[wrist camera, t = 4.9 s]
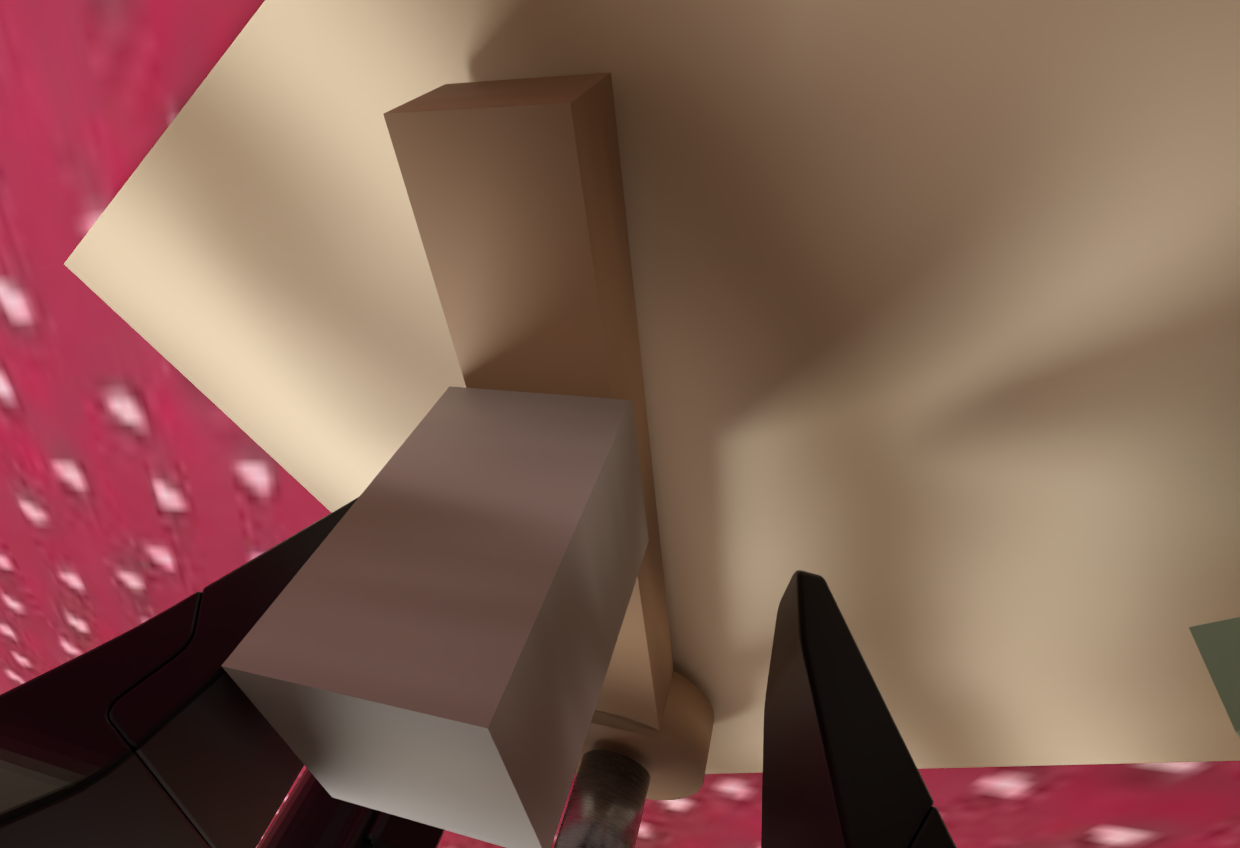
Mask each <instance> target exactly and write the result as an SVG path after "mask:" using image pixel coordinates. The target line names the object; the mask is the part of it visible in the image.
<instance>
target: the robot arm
mask: <svg viewBox="0 0 1240 848" xmlns="http://www.w3.org/2000/svg"><path fill="white" fill-rule="evenodd" d="M359 497H360V496H359ZM359 497H358V498H359ZM358 498H356V499H354V500H353V501H351V502H349V503H348V504H346V505H344V506H342V507H341V508H339V509H337V510H336V511H334V512H332V513H331V514H329V515H327V516H325V517H324V518H322V519H320V520H319V521H317V522H315V523H314V524H312V525H310V526H308V527H307V528H305V529H303V530H302V531H300V532H298V533H297V534H295V535H293V536H291V537H290V538H288V539H286V540H285V541H283V542H281V543H280V544H278V545H276V546H275V547H273V548H271V549H269V550H268V551H266V552H264V553H263V554H261V555H259V556H258V557H256V558H254V559H252V560H251V561H249V562H247V563H246V564H244V565H242V566H241V567H239V568H237V569H235V570H234V571H232V572H230V573H229V574H227V575H225V576H224V577H222V578H220V579H219V580H217V581H215V582H213V583H212V584H210V585H208V586H207V587H205V588H204V589H203V592H200V591H198V592H196V593H194V594H193V595H191V596H189V597H188V598H186V599H184V600H183V601H181V602H179V603H177V604H176V605H174V606H172V607H170V608H169V609H167V610H165V611H163V612H162V613H160V614H158V615H156V616H155V617H153V618H151V619H149V620H147V621H146V622H144V623H142V624H140V625H139V626H137V627H135V628H133V629H131V630H129V631H127V632H125V633H123V634H121V635H120V636H118V637H116V638H114V639H112V640H110V641H108V642H106V643H104V644H102V645H100V646H98V647H96V648H94V649H92V650H90V651H88V652H86V653H84V654H82V655H80V656H78V657H76V658H74V659H72V660H70V661H68V662H66V663H64V664H62V665H60V666H58V667H56V668H54V669H52V670H50V671H48V672H46V673H44V674H42V675H40V676H38V677H36V678H34V679H32V680H30V681H28V682H26V683H24V684H22V685H20V686H18V687H16V688H14V689H11V690H9V691H7V692H5V693H3V694H1V695H0V848H256V846H257V845H258V843H259V841H260V839H261V838H262V836H263V834H264V833H265V831H266V829H267V827H268V826H269V824H270V822H271V821H272V819H273V817H274V816H275V814H276V812H277V810H278V809H279V807H280V805H281V804H282V802H283V800H284V798H285V797H286V795H287V793H288V792H289V790H290V788H291V786H292V785H293V783H294V781H295V780H296V778H297V776H298V775H299V773H300V771H301V769H302V768H303V766H304V764H303V762H302V761H301V760H300V759H299V758H298V756H297V755H296V754H295V753H294V752H293V750H292V749H291V748H290V747H289V746H288V745H287V743H286V742H285V741H284V740H283V739H282V737H281V736H280V735H279V734H278V733H277V731H276V730H275V729H274V728H273V727H272V726H271V724H270V723H269V722H268V721H267V720H266V718H265V717H264V716H263V715H262V714H261V712H260V711H259V710H258V709H257V708H256V707H255V705H254V704H253V703H252V702H251V701H250V699H249V698H248V697H247V696H246V695H245V693H244V692H243V691H242V690H241V689H240V688H239V686H238V685H237V684H236V683H235V682H234V680H233V679H232V678H231V677H230V676H229V674H228V673H227V672H226V671H225V670H224V669H223V667H222V664H223V663H224V662H225V661H226V660H227V658H228V657H229V656H230V655H231V653H232V652H233V651H234V650H235V649H236V647H237V646H238V645H239V644H240V642H241V641H242V640H243V639H244V637H245V636H246V635H247V634H248V633H249V631H250V630H251V629H252V628H253V626H254V625H255V624H256V623H257V622H258V620H259V619H260V618H261V617H262V615H263V614H264V613H265V612H266V611H267V609H268V608H269V607H270V606H271V604H272V603H273V602H274V601H275V600H276V598H277V597H278V596H279V595H280V593H281V592H282V591H283V590H284V589H285V587H286V586H287V585H288V584H289V582H290V581H291V580H292V579H293V577H294V576H295V575H296V574H297V573H298V571H299V570H300V569H301V568H302V566H303V565H304V564H305V563H306V562H307V560H308V559H309V558H310V557H311V555H312V554H313V553H314V552H315V551H316V549H317V548H318V547H319V546H320V544H321V543H322V542H323V541H324V540H325V538H326V537H327V536H328V535H329V533H330V532H331V531H332V530H333V529H334V527H335V526H336V525H337V524H338V522H339V521H340V520H341V519H342V517H343V516H344V515H345V514H346V513H347V511H348V510H349V509H350V508H351V506H352V505H353V504H354V503H355V502H356V500H357V499H358ZM932 805H933V800H932V797H931V795H930V793H929V791H928V789H927V787H926V785H925V783H924V781H923V779H922V777H921V775H920V773H919V771H918V769H917V767H916V765H915V763H914V761H913V759H912V757H911V754H910V752H909V750H908V748H907V746H906V744H905V742H904V740H903V738H902V736H901V734H900V732H899V730H898V728H897V726H896V724H895V722H894V720H893V718H892V716H891V714H890V711H889V709H888V707H887V705H886V703H885V701H884V699H883V697H882V695H881V693H880V691H879V689H878V687H877V685H876V683H875V681H874V679H873V677H872V675H871V673H870V671H869V669H868V666H867V664H866V662H865V660H864V658H863V656H862V654H861V652H860V650H859V648H858V646H857V644H856V642H855V640H854V638H853V636H852V634H851V632H850V630H849V628H848V626H847V623H846V621H845V619H844V617H843V615H842V613H841V611H840V609H839V607H838V605H837V603H836V601H835V599H834V597H833V595H832V593H831V591H830V589H829V587H828V585H827V583H826V581H825V579H824V578H823V577H822V576H820V575H817V574H814V573H810V572H806V571H802V570H797V571H796V572H795V573H794V574H793V576H792V578H791V580H790V582H789V584H788V586H787V588H786V590H785V592H784V594H783V596H782V598H781V601H780V604H779V607H778V611H777V617H776V624H775V631H774V639H773V646H772V653H771V660H770V667H769V674H768V682H767V689H766V697H765V706H764V730H763V786H762V842H761V848H956V846H955V844H954V842H953V840H952V838H951V836H950V834H949V832H948V830H947V828H946V826H945V824H944V822H943V820H942V818H941V815H940V813H939V811H938V809H937V808H936V807H932ZM444 831H445V830H444V829H440V828H437V827H433V826H430V825H426V824H423V823H420V822H416V821H413V820H409V819H406V818H402V817H399V816H395V815H392V814H388V813H385V812H381V811H378V810H374V809H371V808H367V807H364V806H361V805H357V804H354V803H350V802H347V801H343V800H340V799H336V798H333V797H331V796H330V794H329V793H328V792H327V791H326V790H325V788H324V787H323V786H322V785H321V784H320V782H319V781H318V780H317V779H316V778H315V777H314V775H313V774H312V773H311V772H310V771H309V769H308V768H306V770H305V771H304V773H303V775H302V776H301V778H300V779H299V781H298V783H297V784H296V786H295V787H294V789H293V791H292V792H291V794H290V795H289V797H288V799H287V800H286V802H285V803H284V805H283V807H282V808H281V810H280V811H279V813H278V815H277V816H276V818H275V819H274V821H273V823H272V824H271V826H270V827H269V829H268V830H267V832H266V834H265V835H264V837H263V838H262V840H261V842H260V843H259V845H258V846H257V848H437V847H438V844H439V842H440V840H441V838H442V835H443V833H444Z"/></svg>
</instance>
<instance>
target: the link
mask: <svg viewBox="0 0 1240 848" xmlns="http://www.w3.org/2000/svg"><path fill="white" fill-rule="evenodd" d="M383 115H384V118H385V121H386V125H387V128H388V131H389V135H390V138H391V141H392V144H393V148H394V151H395V154H396V158H397V161H398V164H399V167H400V171H401V174H402V177H403V181H404V184H405V187H406V190H407V194H408V197H409V200H410V204H411V207H412V210H413V213H414V217H415V220H416V223H417V227H418V230H419V233H420V237H421V240H422V243H423V246H424V250H425V253H426V256H427V260H428V263H429V266H430V269H431V273H432V276H433V279H434V283H435V286H436V289H437V292H438V296H439V299H440V302H441V306H442V309H443V312H444V315H445V319H446V322H447V325H448V329H449V332H450V335H451V338H452V342H453V345H454V348H455V352H456V355H457V358H458V362H459V365H460V368H461V371H462V375H463V378H464V381H465V385H466V388H464V387H451V386H449V388H448V389H447V390H446V391H445V393H444V394H443V395H442V396H441V397H440V399H439V400H438V401H437V402H436V404H435V405H434V406H433V407H432V409H431V410H430V411H429V412H428V413H427V415H426V416H425V417H424V418H423V420H422V421H421V422H420V423H419V424H418V426H417V427H416V428H415V429H414V431H413V432H412V433H411V434H410V435H409V437H408V438H407V439H406V440H405V442H404V443H403V444H402V445H401V446H400V448H399V449H398V450H397V451H396V453H395V454H394V455H393V456H392V457H391V459H390V460H389V461H388V462H387V464H386V465H385V466H384V467H383V469H382V470H381V471H380V472H379V473H378V475H377V476H376V477H375V478H374V480H373V481H372V482H371V483H370V484H369V486H368V487H367V488H366V489H365V491H364V492H363V493H362V494H361V495H360V497H359V498H358V499H357V500H356V502H355V503H354V504H353V505H352V506H351V508H350V509H349V510H348V511H347V513H346V514H345V515H344V516H343V517H342V519H341V520H340V521H339V522H338V524H337V525H336V526H335V527H334V529H333V530H332V531H331V532H330V533H329V535H328V536H327V537H326V538H325V540H324V541H323V542H322V543H321V544H320V546H319V547H318V548H317V549H316V551H315V552H314V553H313V554H312V555H311V557H310V558H309V559H308V560H307V562H306V563H305V564H304V565H303V566H302V568H301V569H300V570H299V571H298V573H297V574H296V575H295V576H294V577H293V579H292V580H291V581H290V582H289V584H288V585H287V586H286V587H285V589H284V590H283V591H282V592H281V593H280V595H279V596H278V597H277V598H276V600H275V601H274V602H273V603H272V604H271V606H270V607H269V608H268V609H267V611H266V612H265V613H264V614H263V615H262V617H261V618H260V619H259V620H258V622H257V623H256V624H255V625H254V626H253V628H252V629H251V630H250V631H249V633H248V634H247V635H246V636H245V637H244V639H243V640H242V641H241V642H240V644H239V645H238V646H237V647H236V649H235V650H234V651H233V652H232V653H231V655H230V656H229V657H228V658H227V660H226V661H225V662H224V663H223V664H222V667H223V669H224V670H225V671H226V672H227V673H228V674H229V676H230V677H231V678H232V679H233V680H234V682H235V683H236V684H237V685H238V686H239V688H240V689H241V690H242V691H243V692H244V693H245V695H246V696H247V697H248V698H249V699H250V701H251V702H252V703H253V704H254V705H255V707H256V708H257V709H258V710H259V711H260V712H261V714H262V715H263V716H264V717H265V718H266V720H267V721H268V722H269V723H270V724H271V726H272V727H273V728H274V729H275V730H276V731H277V733H278V734H279V735H280V736H281V737H282V739H283V740H284V741H285V742H286V743H287V745H288V746H289V747H290V748H291V749H292V750H293V752H294V753H295V754H296V755H297V756H298V758H299V759H300V760H301V761H302V762H303V764H304V765H305V766H306V767H307V768H308V769H309V771H310V772H311V773H312V774H313V775H314V777H315V778H316V779H317V780H318V781H319V782H320V784H321V785H322V786H323V787H324V788H325V790H326V791H327V792H328V793H329V794H330V796H331V797H333V798H336V799H340V800H343V801H347V802H350V803H354V804H357V805H361V806H364V807H367V808H371V809H374V810H378V811H381V812H385V813H388V814H392V815H395V816H399V817H402V818H406V819H409V820H413V821H416V822H420V823H423V824H426V825H430V826H433V827H437V828H440V829H444V830H447V831H451V832H454V833H458V834H461V835H465V836H468V837H472V838H475V839H479V840H482V841H485V842H489V843H492V844H496V845H499V846H503V847H506V848H551V846H552V843H553V839H554V836H555V833H556V830H557V827H558V824H559V821H560V817H561V814H562V811H563V808H564V805H565V802H566V799H567V795H568V792H569V789H570V786H571V783H572V780H573V777H574V774H577V773H578V770H579V767H580V764H581V760H582V757H583V755H584V754H585V753H586V752H588V751H592V750H606V751H611V752H615V753H619V754H622V755H624V756H627V757H629V758H631V759H633V760H635V761H636V762H638V763H639V764H641V765H642V766H643V767H644V768H645V769H646V770H647V771H648V772H649V774H650V783H649V788H648V792H647V796H646V799H654V800H675V799H681V798H685V797H688V796H690V795H693V794H694V793H696V792H697V791H699V789H700V788H701V787H702V785H703V782H704V776H705V771H706V765H707V759H708V753H709V747H710V741H711V736H712V730H713V724H714V711H713V708H712V706H711V704H710V702H709V700H708V699H707V697H706V696H705V695H704V694H703V692H702V691H701V690H700V689H699V688H698V687H697V686H695V685H694V684H693V683H692V682H690V681H689V680H688V679H686V678H685V677H683V676H682V675H680V674H679V673H677V672H675V671H674V670H673V660H672V651H671V641H670V632H669V622H668V612H667V603H666V593H665V584H664V574H663V565H662V555H661V546H660V536H659V526H658V517H657V507H656V498H655V488H654V479H653V469H652V459H651V450H650V440H649V431H648V421H647V412H646V402H645V393H644V383H643V373H642V364H641V354H640V345H639V335H638V326H637V316H636V307H635V297H634V287H633V278H632V268H631V259H630V249H629V240H628V230H627V221H626V211H625V201H624V192H623V182H622V173H621V163H620V154H619V144H618V135H617V125H616V115H615V106H614V96H613V87H612V77H611V72H610V73H596V74H582V75H567V76H553V77H539V78H525V79H510V80H496V81H482V82H467V83H453V84H445V85H442V86H440V87H438V88H436V89H434V90H432V91H430V92H428V93H426V94H424V95H421V96H419V97H417V98H415V99H413V100H411V101H409V102H407V103H405V104H403V105H401V106H398V107H396V108H394V109H392V110H390V111H388V112H386V113H384V114H383Z"/></svg>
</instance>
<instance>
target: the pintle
mask: <svg viewBox="0 0 1240 848" xmlns="http://www.w3.org/2000/svg"><path fill="white" fill-rule="evenodd" d="M649 783H650V774H649V772H648V771H647V770H646V769H645V768H644V767H643V766H642V765H641V764H639V763H638V762H636V761H635V760H633V759H631V758H629V757H627V756H624V755H622V754H619V753H615V752H611V751H606V750H592V751H588V752H586V753H585V754H584V755H583V757H582V760H581V764H580V767H579V770H578V773H577V776H576V780H575V783H574V786H573V789H572V792H571V795H570V799H569V802H568V805H567V808H566V811H565V814H564V818H563V821H562V824H561V827H560V830H559V833H558V837H557V840H556V843H555V846H554V848H635V844H636V840H637V835H638V831H639V827H640V822H641V818H642V814H643V809H644V805H645V801H646V796H647V792H648V788H649Z"/></svg>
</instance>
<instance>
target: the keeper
mask: <svg viewBox="0 0 1240 848" xmlns="http://www.w3.org/2000/svg"><path fill="white" fill-rule="evenodd" d="M1189 629H1190V631H1191V634H1192V636H1193V638H1194V640H1195V642H1196V645H1197V647H1198V649H1199V651H1200V654H1201V656H1202V658H1203V660H1204V663H1205V665H1206V667H1207V669H1208V671H1209V674H1210V676H1211V678H1212V680H1213V683H1214V685H1215V687H1216V689H1217V691H1218V694H1219V696H1220V698H1221V700H1222V703H1223V705H1224V707H1225V709H1226V712H1227V714H1228V716H1229V718H1230V720H1231V723H1232V725H1233V727H1234V729H1235V732H1236V733H1237V734H1238V735H1239V737H1240V617H1237V618H1232V619H1227V620H1222V621H1217V622H1212V623H1207V624H1202V625H1197V626H1193V627H1189Z"/></svg>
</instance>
